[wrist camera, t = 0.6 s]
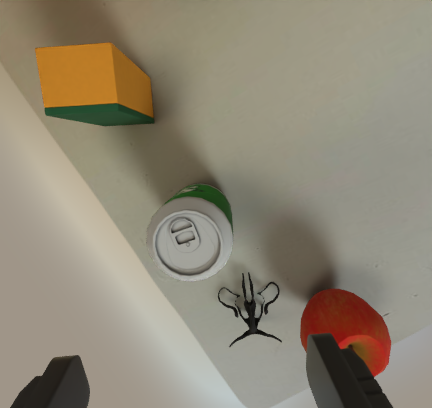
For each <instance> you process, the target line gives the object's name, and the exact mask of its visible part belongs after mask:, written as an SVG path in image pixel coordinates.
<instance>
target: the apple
mask: <svg viewBox="0 0 432 408" xmlns="http://www.w3.org/2000/svg"><path fill="white" fill-rule="evenodd" d="M321 333H331V334H332V335H333V337H334V338H335V340H336V342H337V344H338V346H339V347H340V349H345V348H350V349H351V350H352V351H354V352H355V353H356V354H357V355H358V356H359V357H360V358H361V359H363V360H364V362H365V363H366V365H367V366H368V368H369V370H370V371H371V373H372V374H373V376H374V377H375V376H376V375H378V374H379V373H381V372H382V371H384V369H385V368H386V366H387V365H388V363H389V356H390V349H391V340H390V336H389V332H388V329H387V326H386V324H385V322H384V320H383V318H382V316H381V315H379V314H378V313H377V312H376V311H375V310H374V309H373V308H372V307H371V306H370V305H369V304H368V303H366V302H365V301H364V300H363V299H362V298H360V297H358V296H357V295H355V294H354V293H351V292H348V291H345V290H341V289H327V290H322V291H320V292H318V293H316V294H315V295H314V296H313V297H312V298H311V299H310V300H309V302H308V303H307V305H306V307H305V309H304V312H303V315H302V318H301V332H300V338H301V342H302V345H303V347H304V349H305V351H306V353H307V338H308V335H310V334H321Z"/></svg>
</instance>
